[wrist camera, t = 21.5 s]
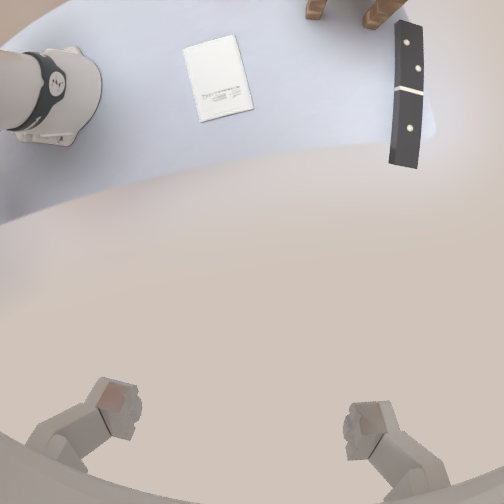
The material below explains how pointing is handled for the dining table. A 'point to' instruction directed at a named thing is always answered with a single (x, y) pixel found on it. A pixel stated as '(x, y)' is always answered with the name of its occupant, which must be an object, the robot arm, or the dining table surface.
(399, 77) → the domino
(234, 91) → the external hard drive
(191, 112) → the dining table surface
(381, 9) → the stool
